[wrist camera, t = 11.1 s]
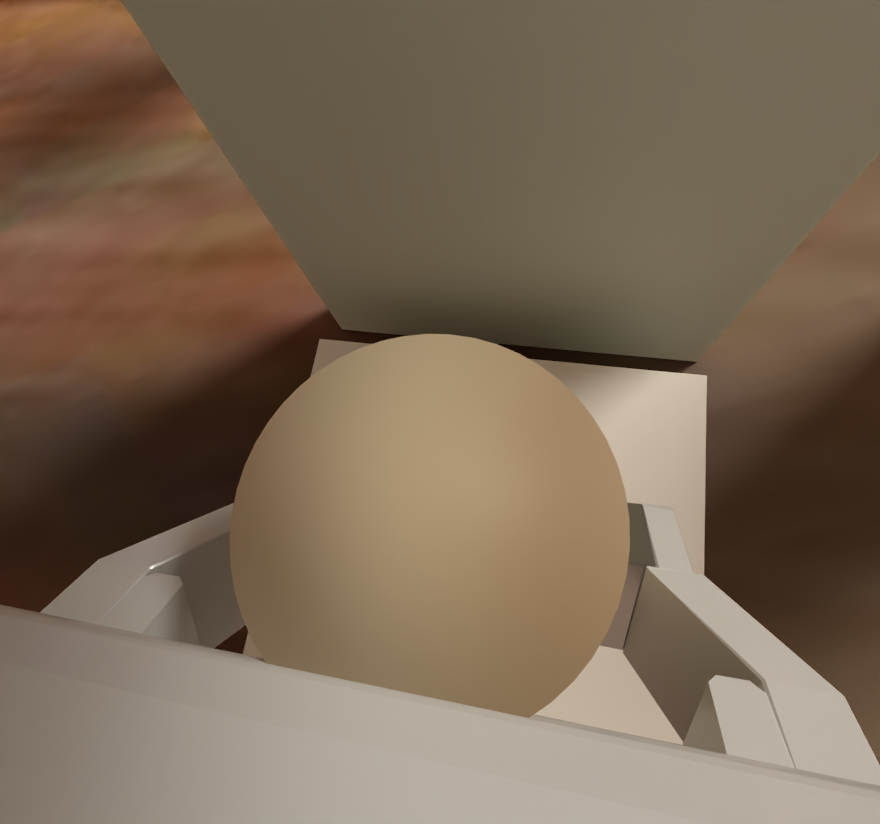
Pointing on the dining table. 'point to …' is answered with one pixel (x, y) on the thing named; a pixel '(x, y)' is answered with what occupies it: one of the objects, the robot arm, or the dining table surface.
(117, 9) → the dining table surface
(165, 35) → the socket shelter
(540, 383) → the peg
